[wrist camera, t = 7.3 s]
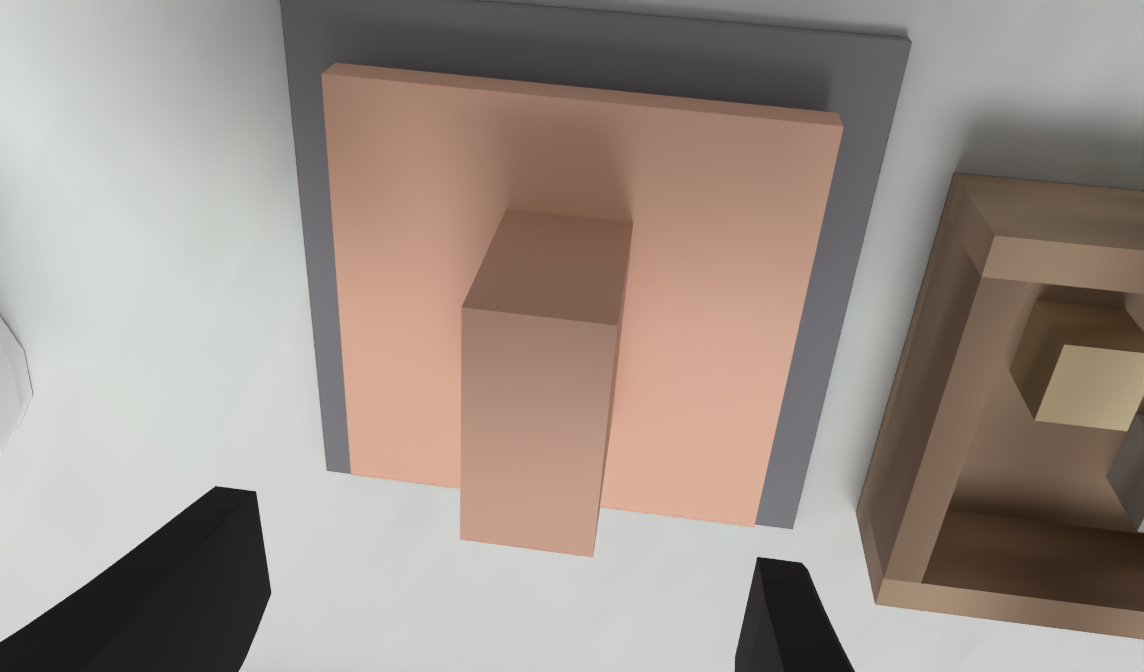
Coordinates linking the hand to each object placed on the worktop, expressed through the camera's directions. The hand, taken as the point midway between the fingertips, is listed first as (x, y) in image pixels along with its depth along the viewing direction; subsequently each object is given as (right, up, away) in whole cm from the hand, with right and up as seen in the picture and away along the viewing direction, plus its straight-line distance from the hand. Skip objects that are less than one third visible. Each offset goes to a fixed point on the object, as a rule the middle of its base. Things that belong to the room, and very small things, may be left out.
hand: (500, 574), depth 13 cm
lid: (+1, +4, +7) cm, 8 cm away
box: (+13, +2, +7) cm, 15 cm away
